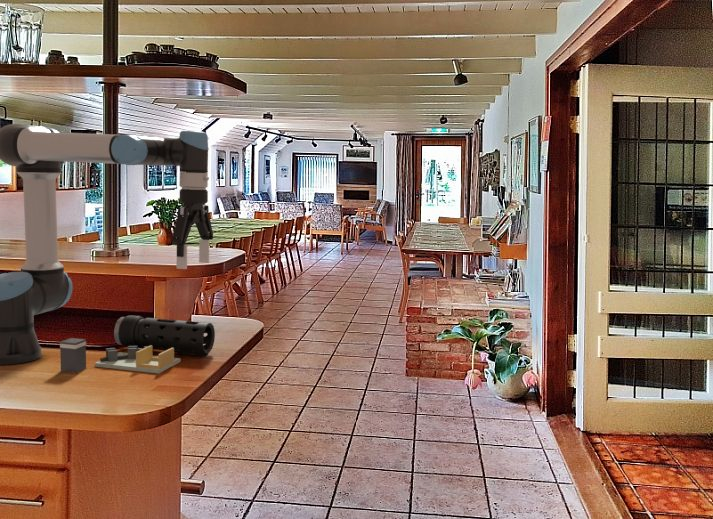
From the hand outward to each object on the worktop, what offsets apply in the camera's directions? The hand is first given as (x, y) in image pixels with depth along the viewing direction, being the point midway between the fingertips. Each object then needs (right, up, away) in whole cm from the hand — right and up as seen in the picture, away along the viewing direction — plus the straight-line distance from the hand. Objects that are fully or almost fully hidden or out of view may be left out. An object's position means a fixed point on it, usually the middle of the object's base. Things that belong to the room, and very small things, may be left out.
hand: (193, 265), depth 194 cm
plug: (-30, -28, -7) cm, 42 cm away
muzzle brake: (-12, -26, +13) cm, 31 cm away
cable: (-19, -26, 0) cm, 32 cm away
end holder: (-10, -28, -3) cm, 30 cm away
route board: (-15, -27, 0) cm, 31 cm away
